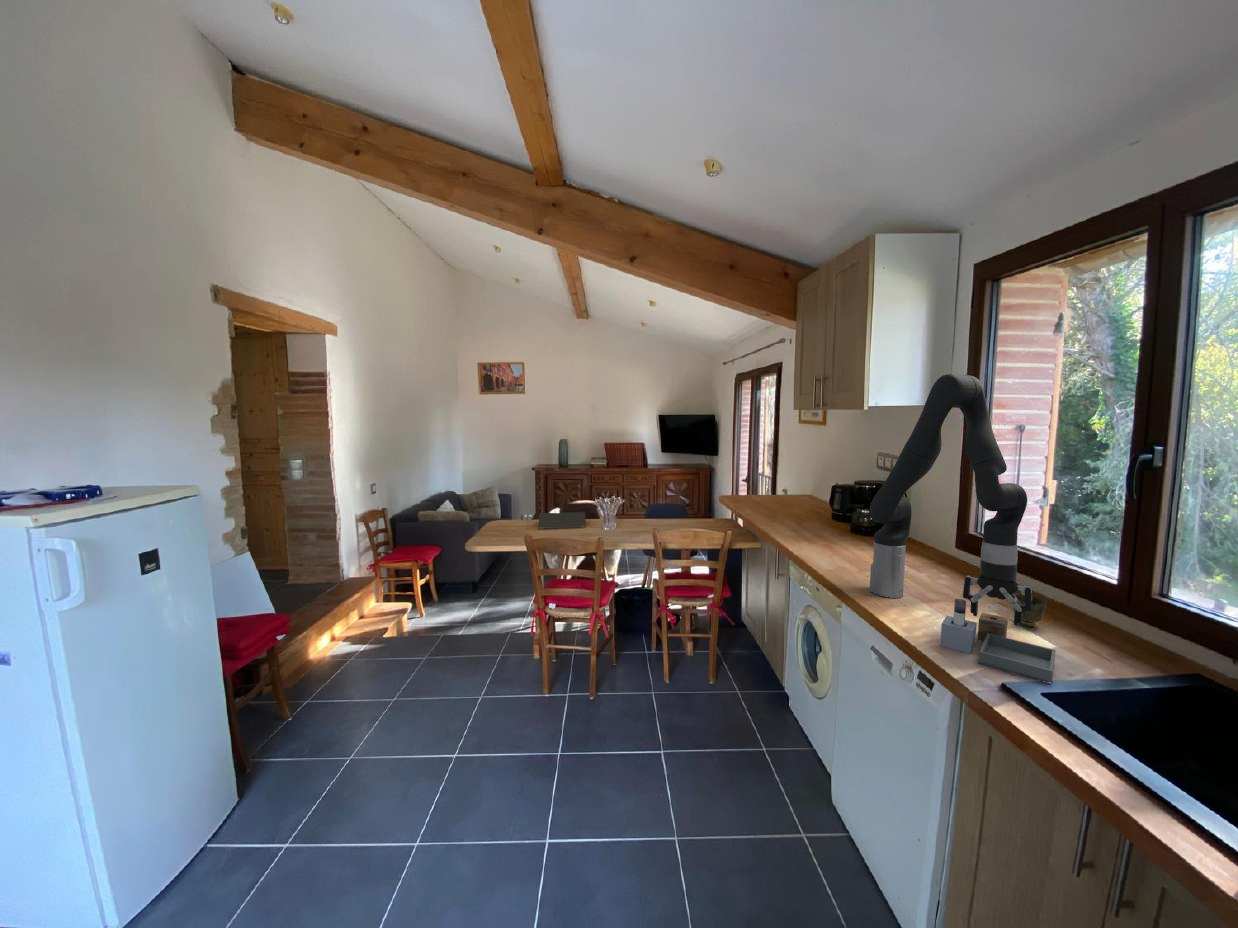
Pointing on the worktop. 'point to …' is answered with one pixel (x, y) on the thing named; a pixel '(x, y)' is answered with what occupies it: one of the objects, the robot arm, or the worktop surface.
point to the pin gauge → (959, 612)
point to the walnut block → (991, 626)
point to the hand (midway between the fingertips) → (995, 619)
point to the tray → (1018, 657)
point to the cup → (1032, 610)
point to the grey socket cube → (958, 635)
